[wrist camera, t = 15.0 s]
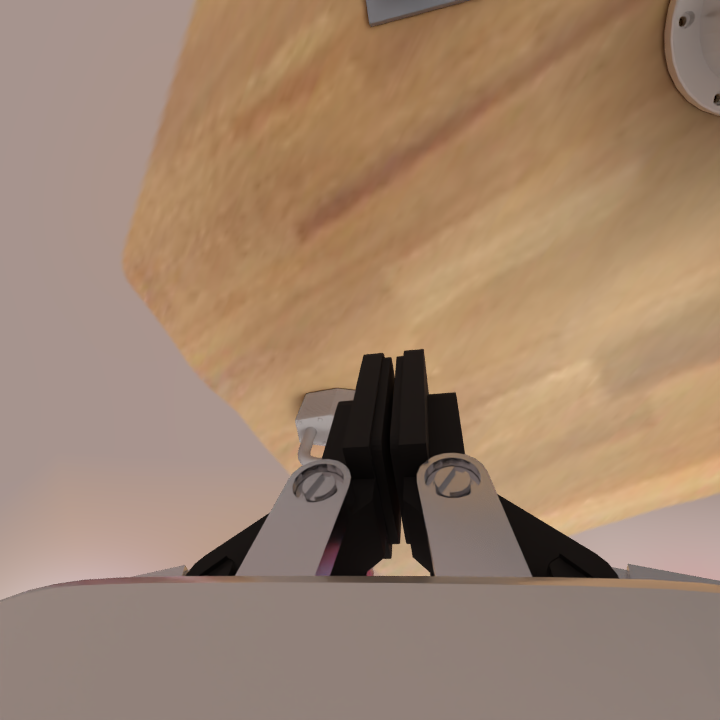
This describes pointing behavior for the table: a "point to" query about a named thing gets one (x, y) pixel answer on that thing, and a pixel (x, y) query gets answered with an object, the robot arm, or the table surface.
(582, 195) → the table surface
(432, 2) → the base
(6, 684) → the robot arm
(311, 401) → the padlock
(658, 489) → the table surface
